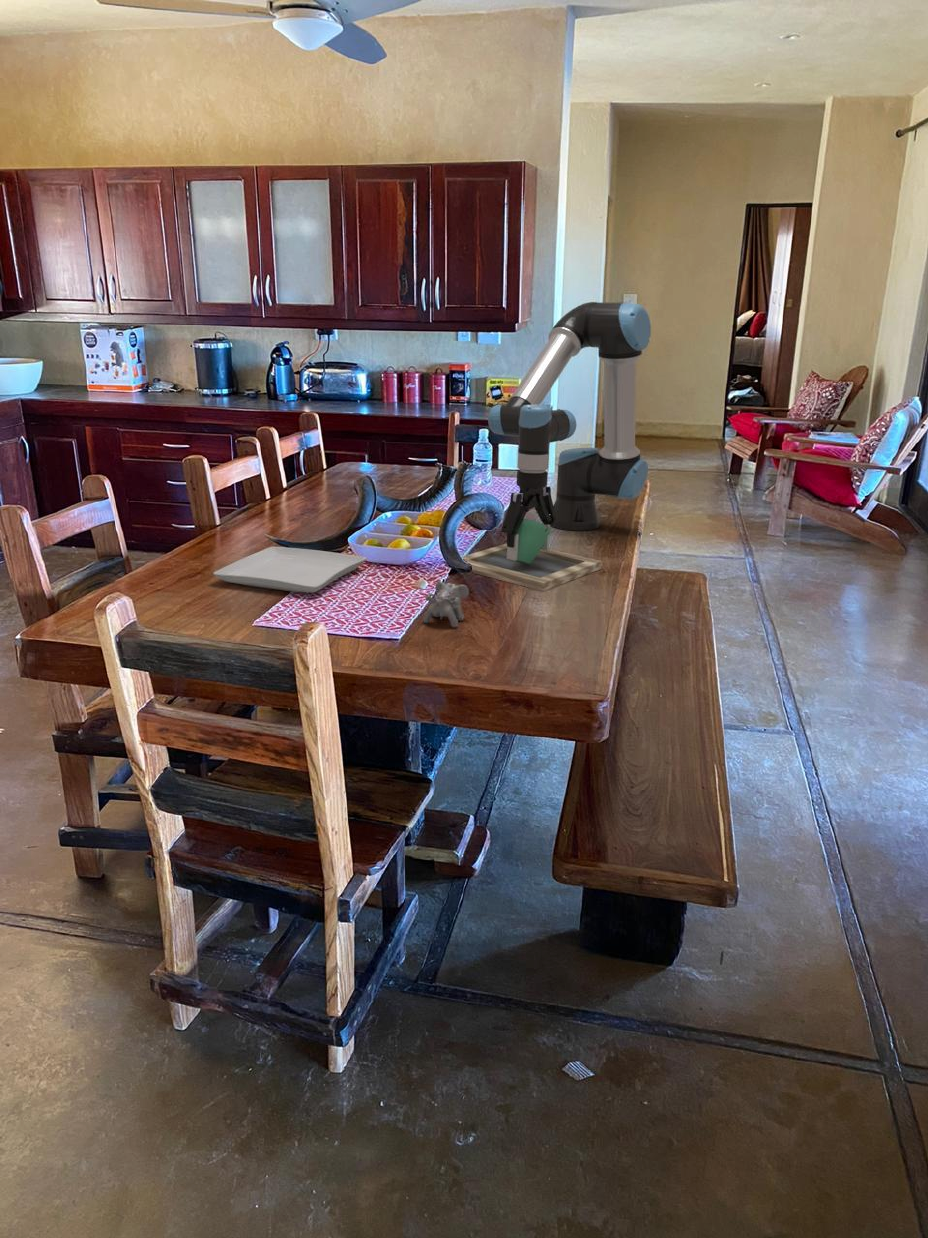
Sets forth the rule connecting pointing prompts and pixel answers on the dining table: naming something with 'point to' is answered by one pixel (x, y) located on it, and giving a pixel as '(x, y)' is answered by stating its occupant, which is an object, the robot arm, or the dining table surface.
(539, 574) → the framed board
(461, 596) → the elephant statuette
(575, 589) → the dining table surface
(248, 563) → the square plate
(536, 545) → the green tapered cup
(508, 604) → the dining table surface
